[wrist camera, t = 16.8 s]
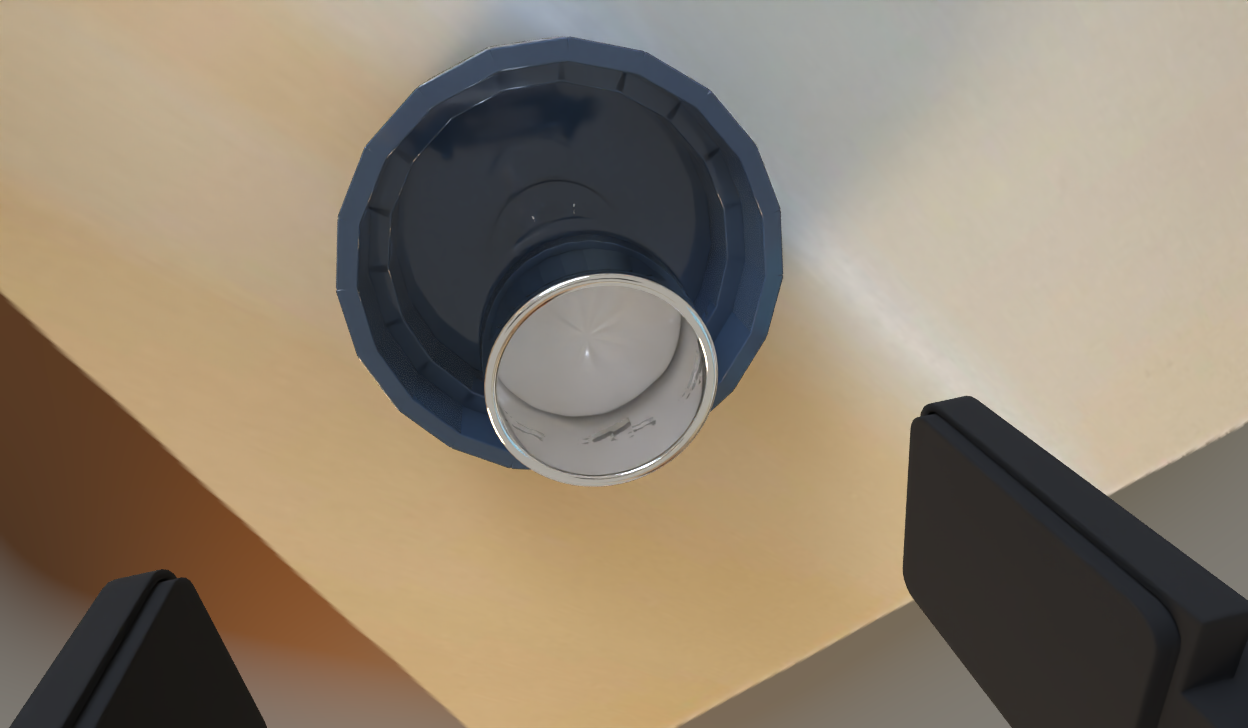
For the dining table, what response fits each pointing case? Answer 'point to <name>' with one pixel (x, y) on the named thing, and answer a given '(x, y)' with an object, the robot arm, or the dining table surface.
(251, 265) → the dining table surface
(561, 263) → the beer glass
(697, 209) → the bowl
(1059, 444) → the dining table surface
